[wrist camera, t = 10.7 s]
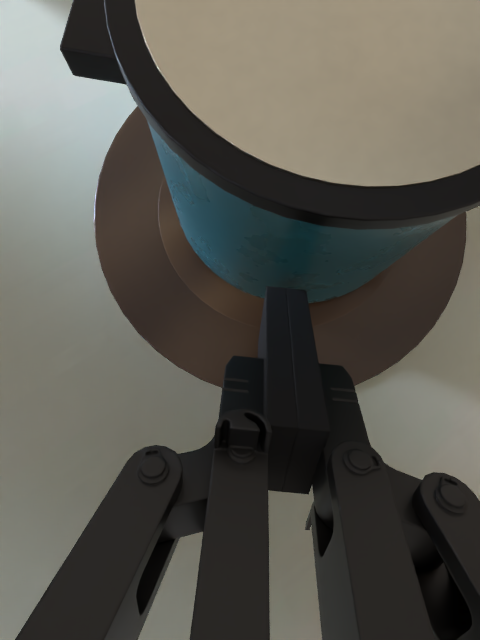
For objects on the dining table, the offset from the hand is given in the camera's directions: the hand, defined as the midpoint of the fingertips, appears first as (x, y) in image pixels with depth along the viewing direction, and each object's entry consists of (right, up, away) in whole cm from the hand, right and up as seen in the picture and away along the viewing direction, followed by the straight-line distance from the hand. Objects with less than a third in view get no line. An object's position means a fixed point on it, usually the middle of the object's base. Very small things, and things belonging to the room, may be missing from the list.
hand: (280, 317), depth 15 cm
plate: (0, +6, +4) cm, 7 cm away
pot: (+1, +6, +5) cm, 8 cm away
